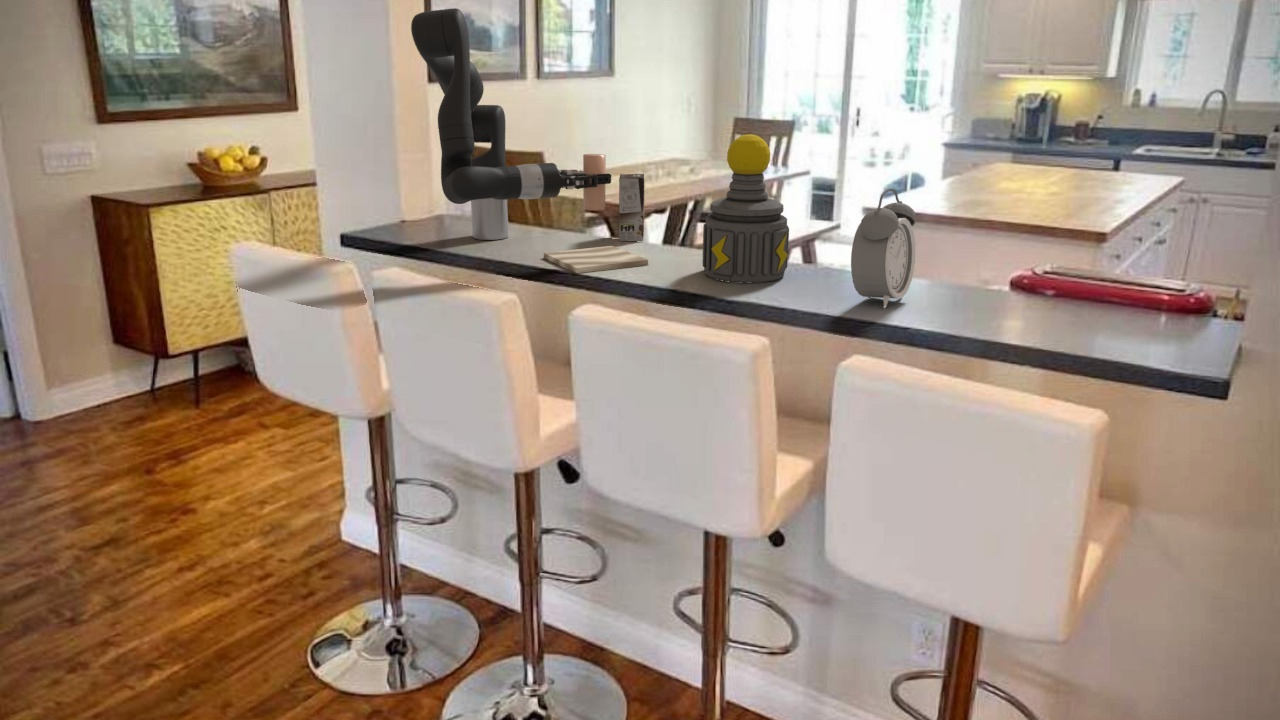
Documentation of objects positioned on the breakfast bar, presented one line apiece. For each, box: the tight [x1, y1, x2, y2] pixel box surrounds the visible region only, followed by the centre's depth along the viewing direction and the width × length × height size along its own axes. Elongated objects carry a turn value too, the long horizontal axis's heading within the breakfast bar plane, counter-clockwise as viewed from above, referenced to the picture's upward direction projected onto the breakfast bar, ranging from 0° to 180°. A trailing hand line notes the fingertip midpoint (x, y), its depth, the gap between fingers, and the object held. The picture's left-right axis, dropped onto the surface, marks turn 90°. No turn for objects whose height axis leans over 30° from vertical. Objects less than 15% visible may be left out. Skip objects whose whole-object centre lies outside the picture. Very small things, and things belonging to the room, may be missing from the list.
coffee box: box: [618, 173, 645, 242], centre depth 245 cm, size 9×6×16 cm
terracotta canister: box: [582, 153, 607, 212], centre depth 215 cm, size 5×5×12 cm
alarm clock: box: [850, 188, 917, 307], centre depth 184 cm, size 16×9×22 cm, turn 146°
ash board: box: [543, 245, 649, 274], centre depth 221 cm, size 18×18×1 cm
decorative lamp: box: [702, 133, 790, 284], centre depth 204 cm, size 19×19×30 cm
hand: (604, 177), depth 216 cm, fingers closed on terracotta canister, 5 cm apart
